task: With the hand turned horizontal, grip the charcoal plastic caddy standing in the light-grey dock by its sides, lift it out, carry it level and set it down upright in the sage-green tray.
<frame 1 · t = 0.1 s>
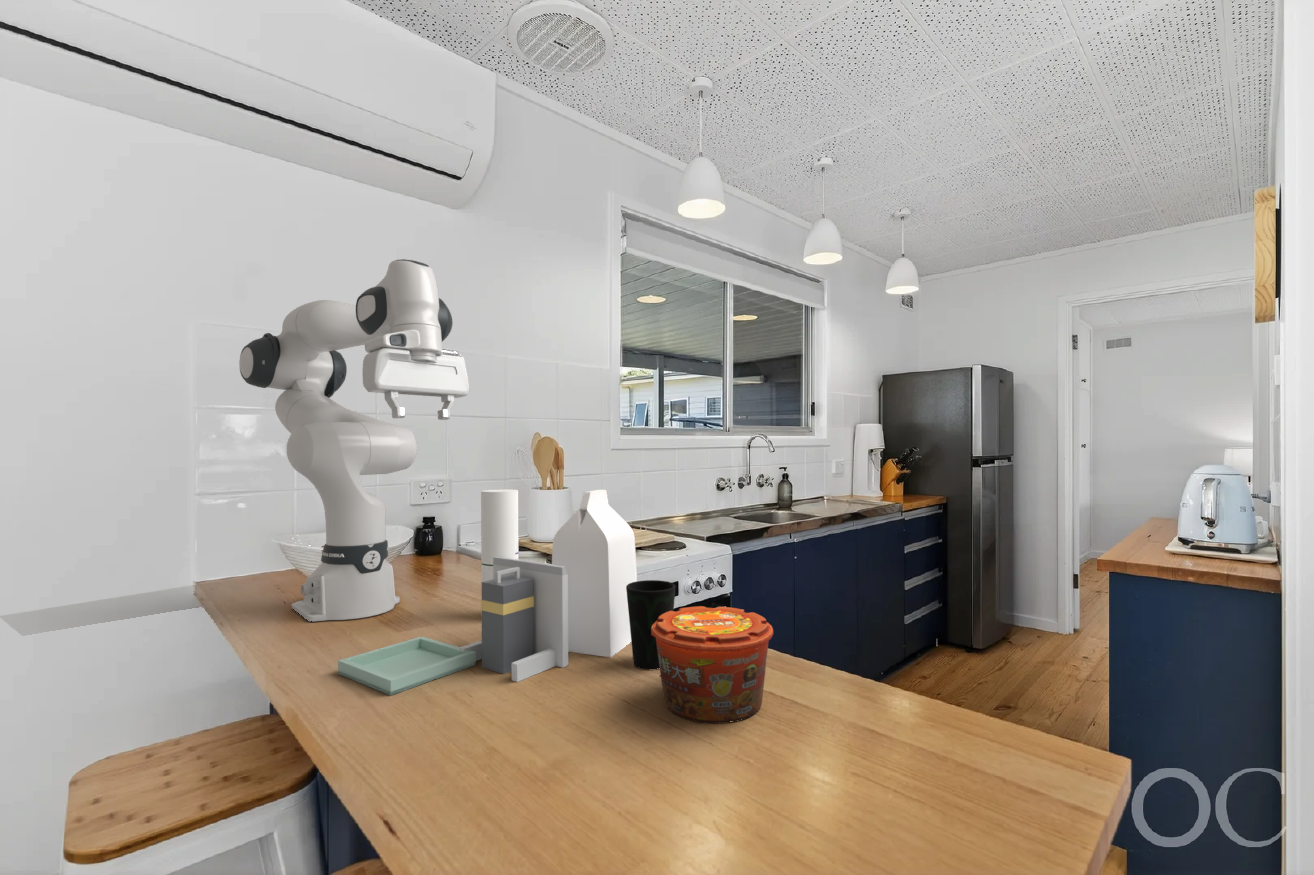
hand: (422, 418, 113), 39 cm above the countertop, tool pointing down, fingers open, 8 cm apart
milk: (596, 643, 105), on the countertop
tray: (408, 669, 93), on the countertop
cup: (651, 664, 95), on the countertop
caddy: (508, 664, 94), on the countertop
dock: (508, 664, 94), on the countertop
cylindrical container: (500, 617, 121), on the countertop
food container: (712, 703, 80), on the countertop
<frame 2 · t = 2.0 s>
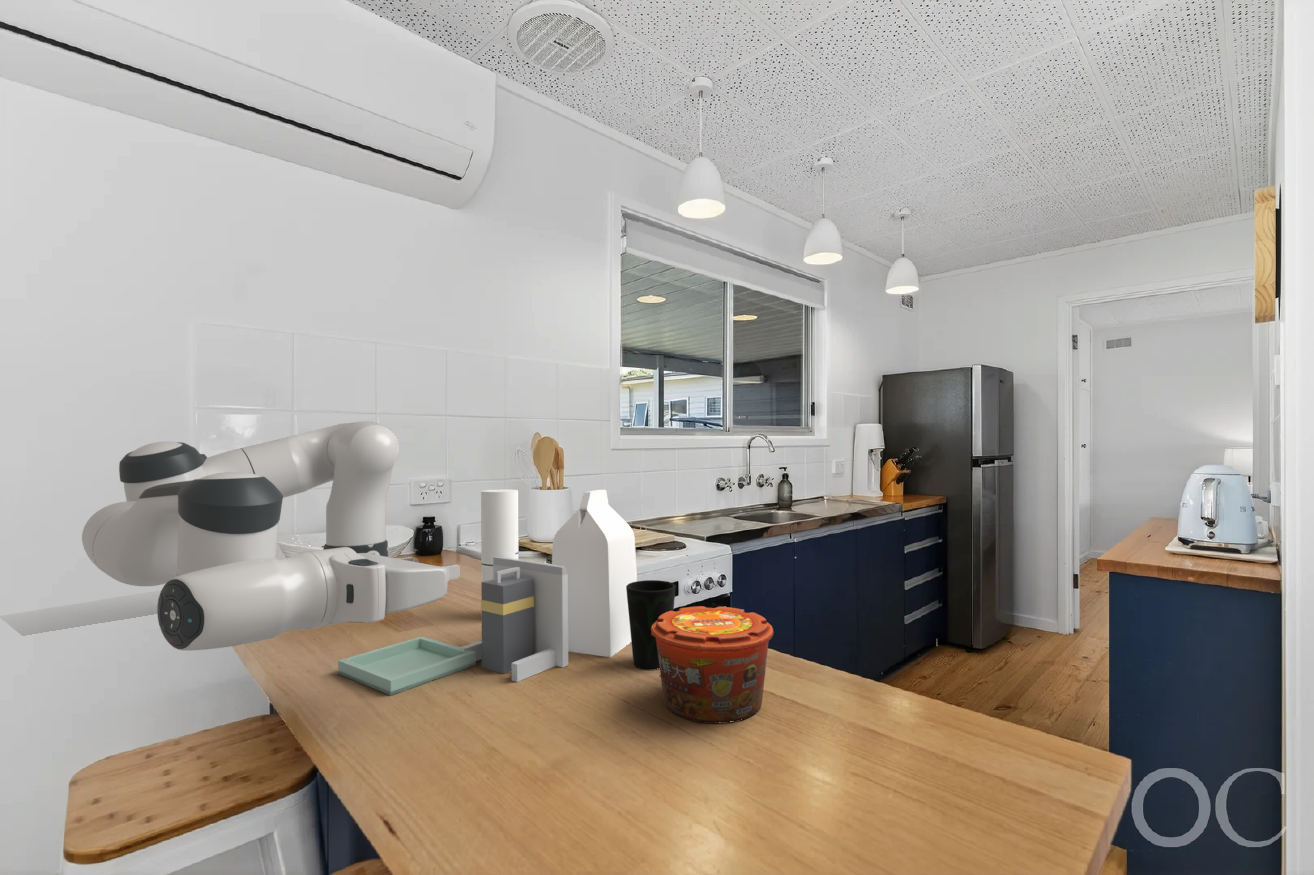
hand: (435, 566, 84), 17 cm above the countertop, tool horizontal, fingers open, 8 cm apart
nothing on the countertop moved.
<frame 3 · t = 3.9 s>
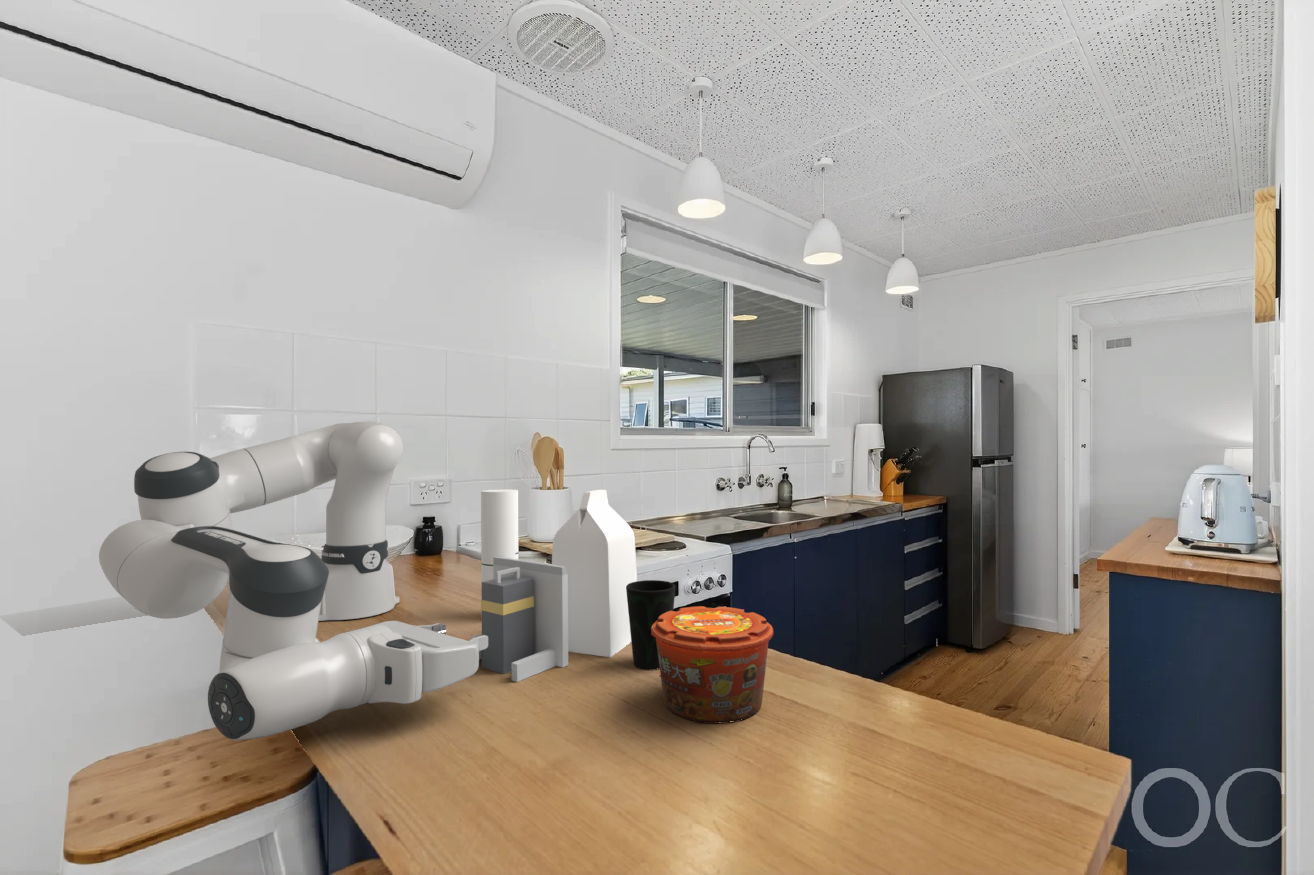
hand: (463, 634, 87), 7 cm above the countertop, tool horizontal, fingers open, 8 cm apart
nothing on the countertop moved.
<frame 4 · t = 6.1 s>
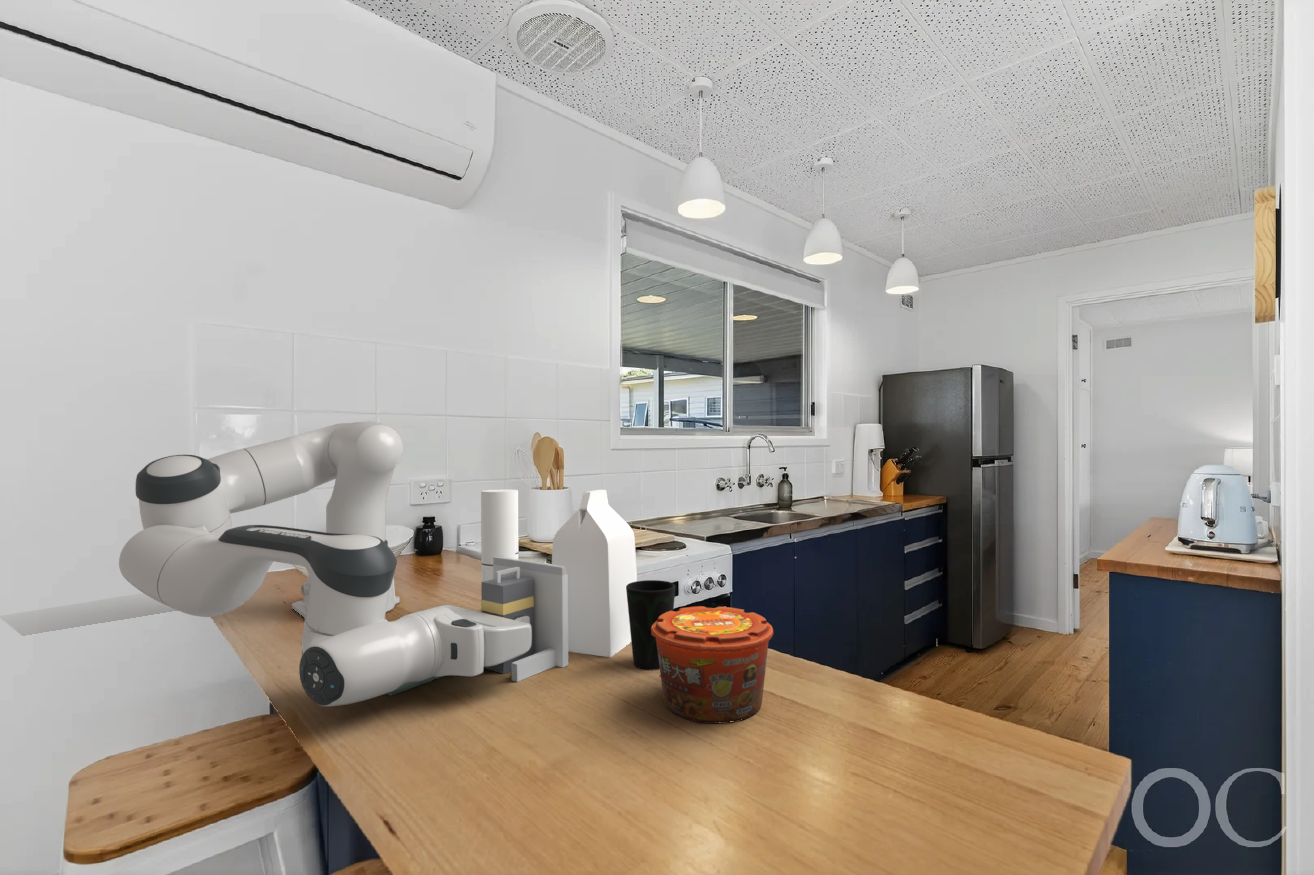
hand: (512, 617, 95), 7 cm above the countertop, tool horizontal, fingers closed on caddy, 5 cm apart
caddy: (508, 664, 94), on the countertop, touching gripper
everything else where it was.
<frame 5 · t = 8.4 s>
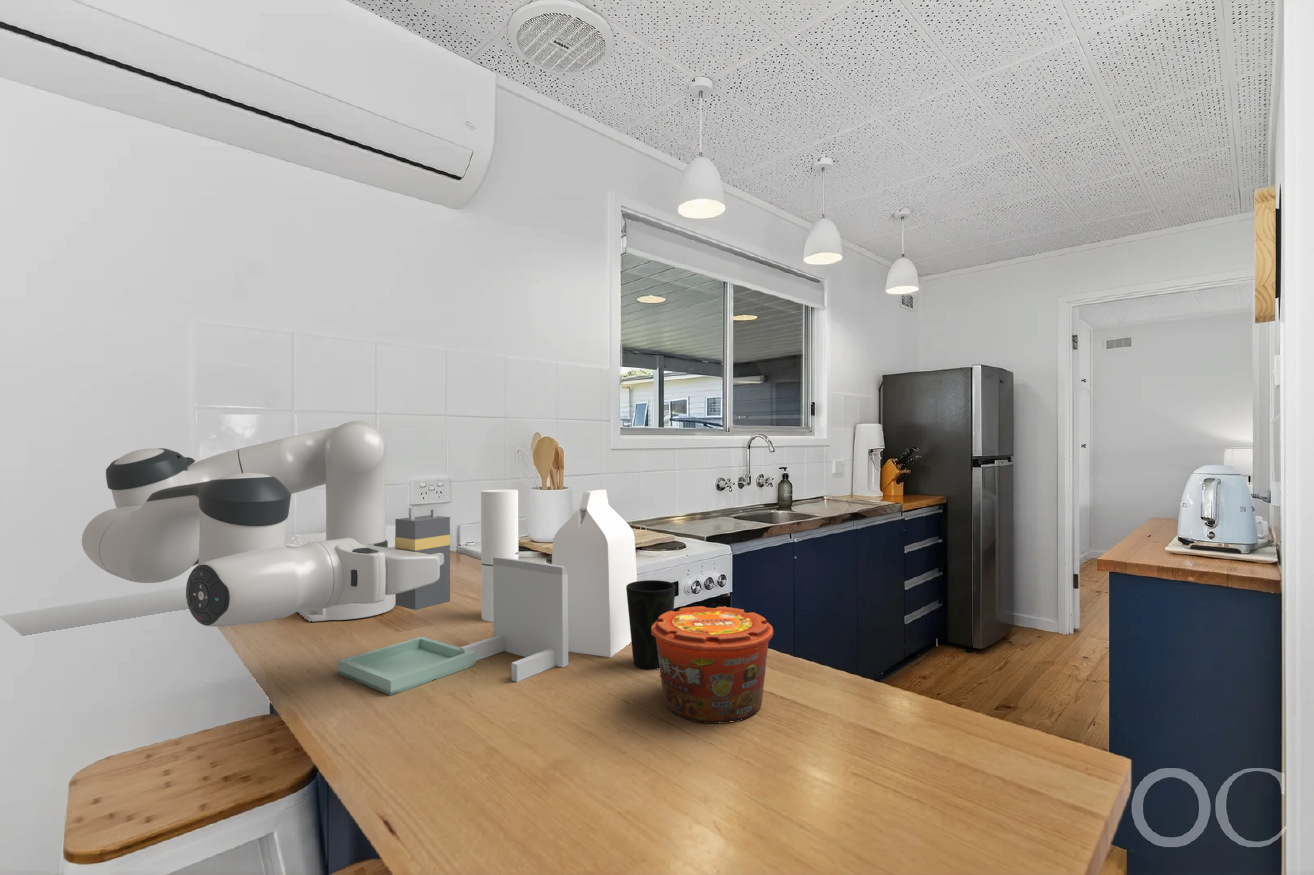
hand: (428, 556, 94), 17 cm above the countertop, tool horizontal, fingers closed on caddy, 5 cm apart
caddy: (423, 603, 93), point 10 cm above the countertop, touching gripper
everything else where it was.
when the fingers open (9 cm above the countertop, at t = 10.5 s): caddy drops 1 cm, resting on tray.
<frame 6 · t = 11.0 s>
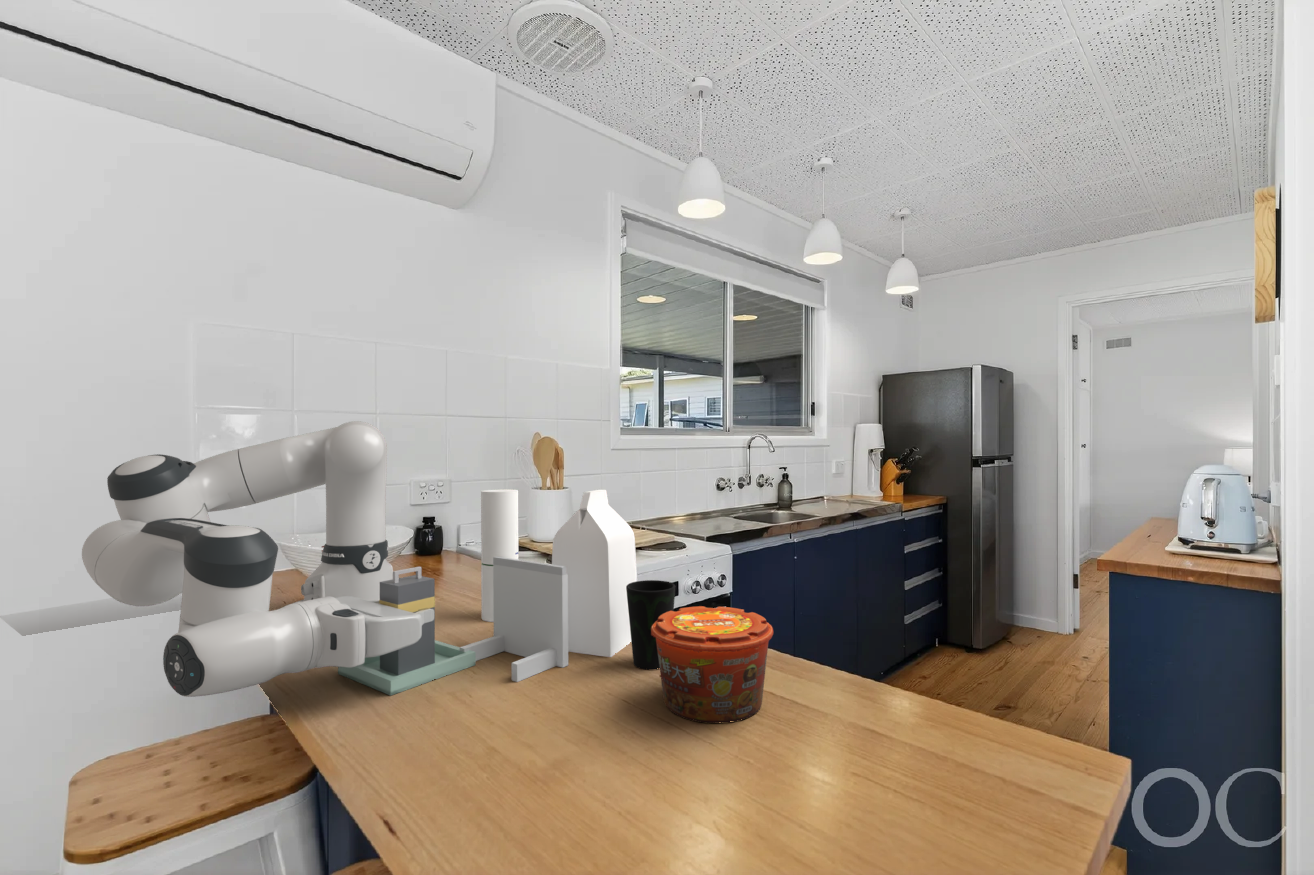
hand: (413, 608, 93), 9 cm above the countertop, tool horizontal, fingers open, 8 cm apart
caddy: (407, 666, 93), resting on tray
everything else where it was.
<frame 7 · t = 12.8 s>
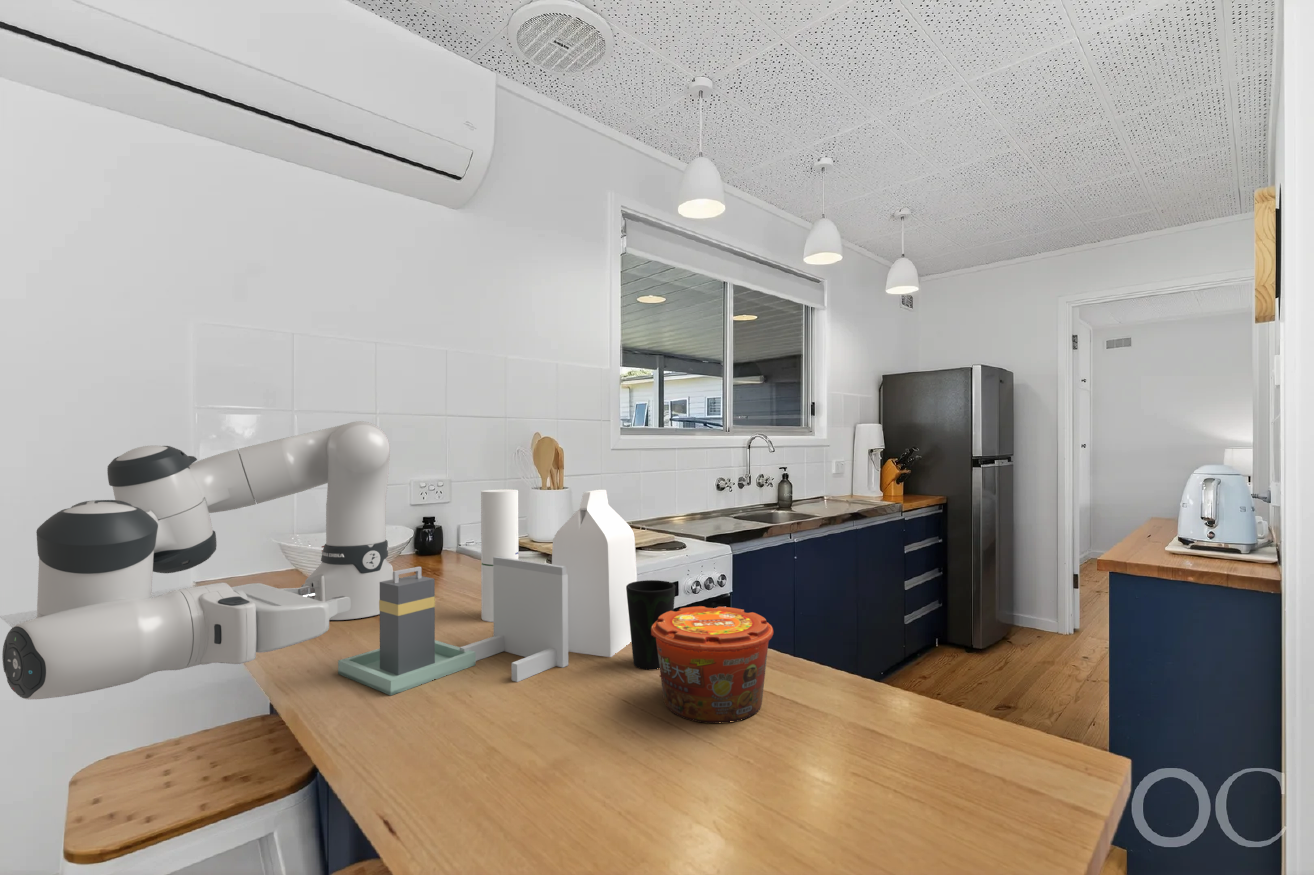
hand: (329, 597, 83), 13 cm above the countertop, tool horizontal, fingers open, 8 cm apart
nothing on the countertop moved.
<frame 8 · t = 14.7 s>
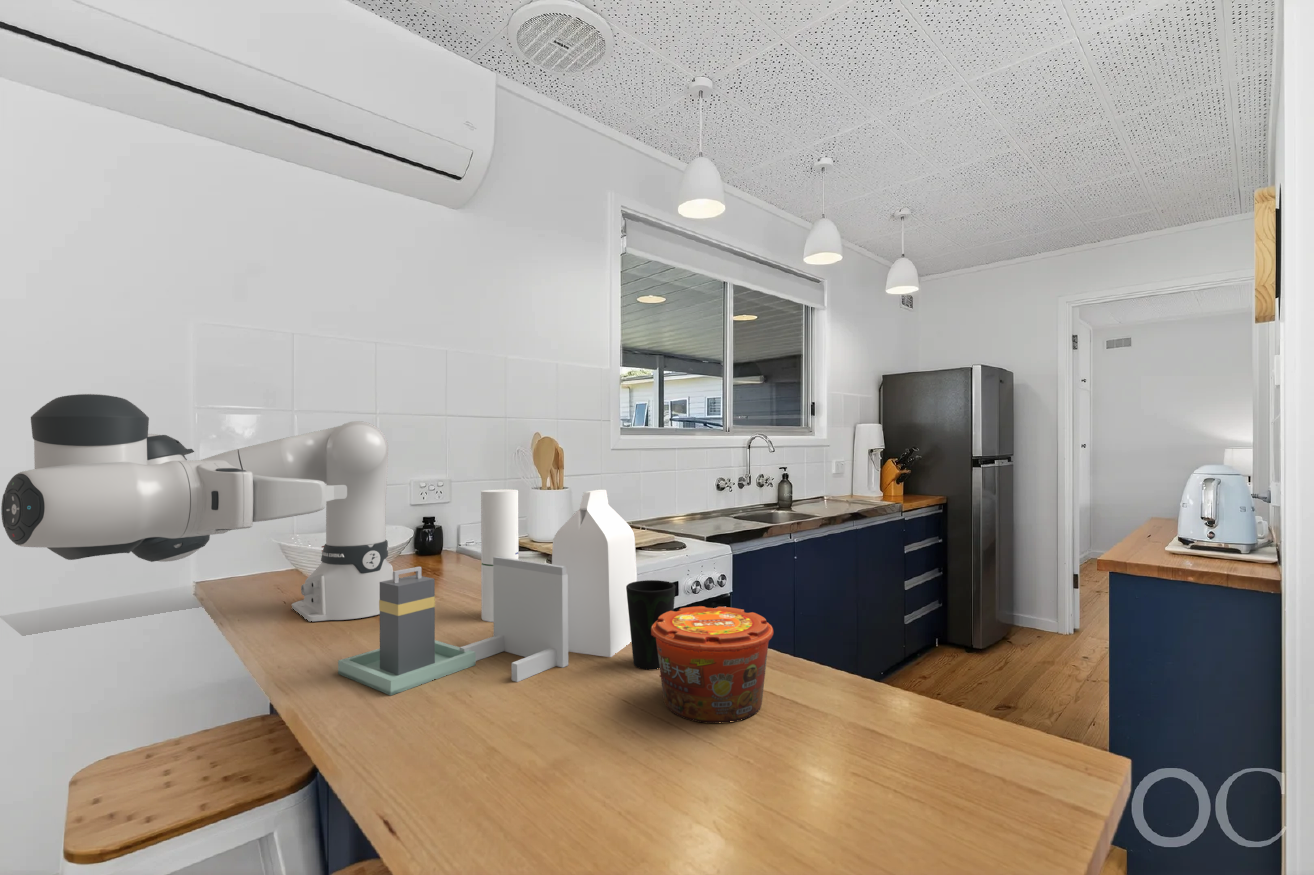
hand: (326, 490, 83), 28 cm above the countertop, tool horizontal, fingers open, 8 cm apart
nothing on the countertop moved.
at the end: caddy inside the target area on the tray (0.1 cm from its centre), point 0.5 cm above the tray's base; caddy tilted 0°; the gripper is holding nothing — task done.
